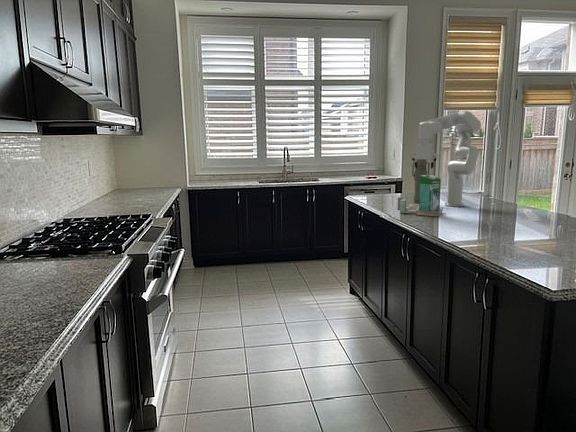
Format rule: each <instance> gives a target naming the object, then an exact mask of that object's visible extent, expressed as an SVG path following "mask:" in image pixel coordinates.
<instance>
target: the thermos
mask: <svg viewBox="0 0 576 432" xmlns="http://www.w3.org/2000/svg"><path fill="white" fill-rule="evenodd" d="M411 166H412V170H411V171H412V172H411V175H412V177H413V180H414V193H413V204H419V192H420V175H429V174H430V168H431V163H429V162H428V161H427V160H420V159H418V161H417V169H416V167H415V162H414V161H413V163H412V164H411ZM414 168H415V169H414Z"/></svg>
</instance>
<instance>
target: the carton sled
mask: <svg viewBox="0 0 576 432" xmlns="http://www.w3.org/2000/svg"><path fill="white" fill-rule="evenodd" d="M407 201H408V200H407V199H405V198H403V199H402V200H400V209H399V213H400V214H415V216H426V217H427V216H429V217H440V216H441V215H442V213H443V207H440V209H439V211H425V210H419V208H417V209H416V210H406V207H407Z"/></svg>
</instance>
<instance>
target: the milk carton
mask: <svg viewBox="0 0 576 432" xmlns="http://www.w3.org/2000/svg"><path fill="white" fill-rule="evenodd" d="M441 180H442V179H441V178H440V177H438V176H436V175H432V174H430V173H429V175H428V174H427V175H420V192H419V210H425V211H439V209H440V208H441V206H440V205H441V182H442V181H441Z"/></svg>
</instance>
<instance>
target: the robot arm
mask: <svg viewBox="0 0 576 432" xmlns="http://www.w3.org/2000/svg"><path fill="white" fill-rule="evenodd" d="M452 127H455V130H456V132H457V136H458V141H457V144H456V146H455V151H454V152H453V153H454V154H453V156H454V158H455V159H456V160H451V161H449V162H448V164H447V168H446V169H447V175H448V185H447V186H448V187H447V202H445V204H444V205H445V206H446V207H464V206H465V204H464V203H462V202H463V185H464V178H463V177H462V176H469V175H472V173H473V172H474V169H475V166H476V163H477V161H478V158H479V149H478V148H477V147H476V146H475V145H471V144H472V138H471V135H470V133H477V132H479V131H480V130H481V127H482V124H481V121H480V120H479V119H478V118H477V117H476V116H475V115H474V114H473V113H472V112H471V111H468V110H466V111H465V110H462V111H460V110H459V111H454V112H452V113H448V114H446V115H443V116H440V117H436V118H432V119H429V120H426V121H423V122H422V121H421V122H420V123H419V125H418V144H416V152H414V153H413V154H412V155H410V158H411V160H412V161H413V163H414V162H415V163H414V168H416V169H417V161H418V159H420V160H428V161H429V160H430V161H431V162H430V169H433V168H434V166H435V165H434V164H435V163H434V162H435V161H437V159H438V158H439V155H438V154H437V153H435V152H434V148H433V144H432V143H434V139H432V134H433V135H435V134H439V133H441V132H442V130H446V129H451V128H452ZM414 157H415V158H414ZM433 157H435V158H433Z"/></svg>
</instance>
